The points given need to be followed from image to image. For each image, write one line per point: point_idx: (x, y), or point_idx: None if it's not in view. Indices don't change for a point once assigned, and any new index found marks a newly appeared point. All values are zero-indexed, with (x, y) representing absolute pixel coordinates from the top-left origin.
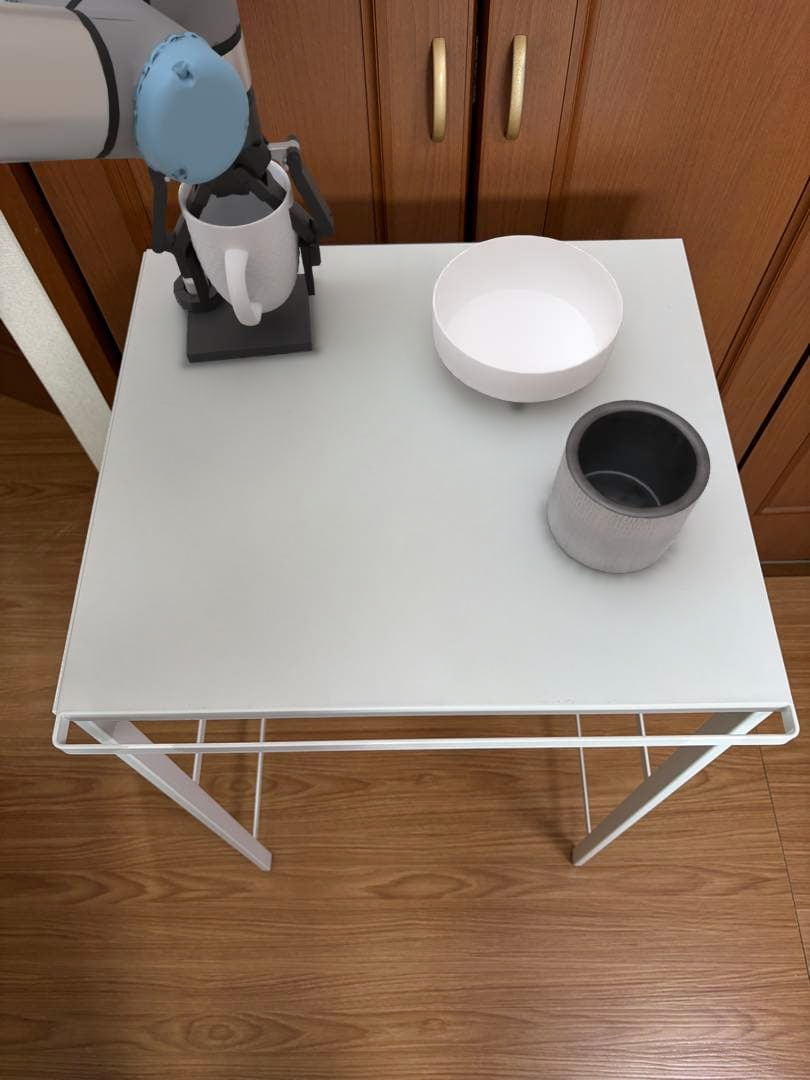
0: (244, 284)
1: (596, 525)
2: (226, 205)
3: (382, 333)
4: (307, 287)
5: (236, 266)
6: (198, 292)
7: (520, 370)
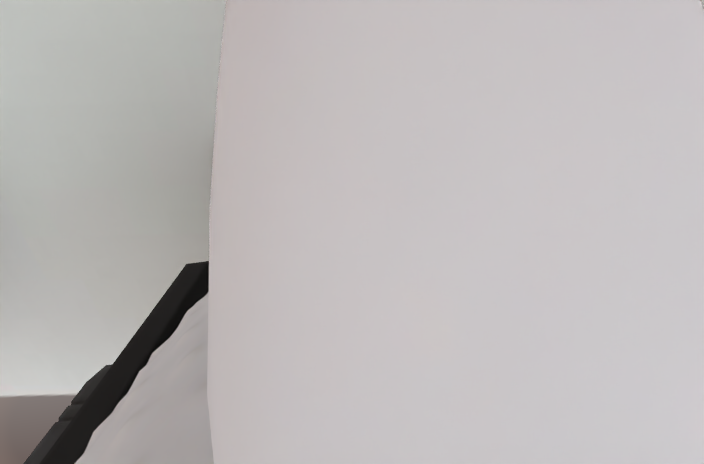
0: None
1: None
2: None
3: (84, 196)
4: (190, 283)
5: (426, 311)
6: None
7: None
